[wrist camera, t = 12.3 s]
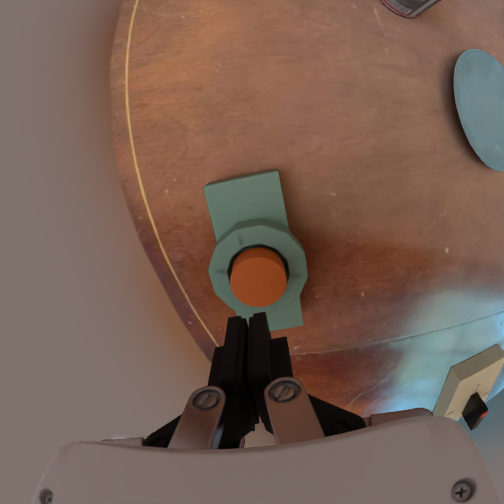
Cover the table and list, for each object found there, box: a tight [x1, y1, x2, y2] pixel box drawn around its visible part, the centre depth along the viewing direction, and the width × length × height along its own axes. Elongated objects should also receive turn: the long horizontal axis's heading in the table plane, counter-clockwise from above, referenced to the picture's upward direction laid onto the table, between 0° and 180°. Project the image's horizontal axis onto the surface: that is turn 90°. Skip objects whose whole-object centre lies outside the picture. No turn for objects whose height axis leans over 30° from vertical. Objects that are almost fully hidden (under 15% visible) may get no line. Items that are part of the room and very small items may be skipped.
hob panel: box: [432, 344, 504, 420], centre depth 27 cm, size 13×10×3 cm
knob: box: [462, 392, 488, 430], centre depth 24 cm, size 5×1×4 cm, turn 14°
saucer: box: [454, 49, 504, 172], centre depth 15 cm, size 12×12×2 cm
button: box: [230, 247, 287, 307], centre depth 17 cm, size 3×3×2 cm
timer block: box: [203, 169, 308, 331], centre depth 20 cm, size 12×6×4 cm, turn 12°
